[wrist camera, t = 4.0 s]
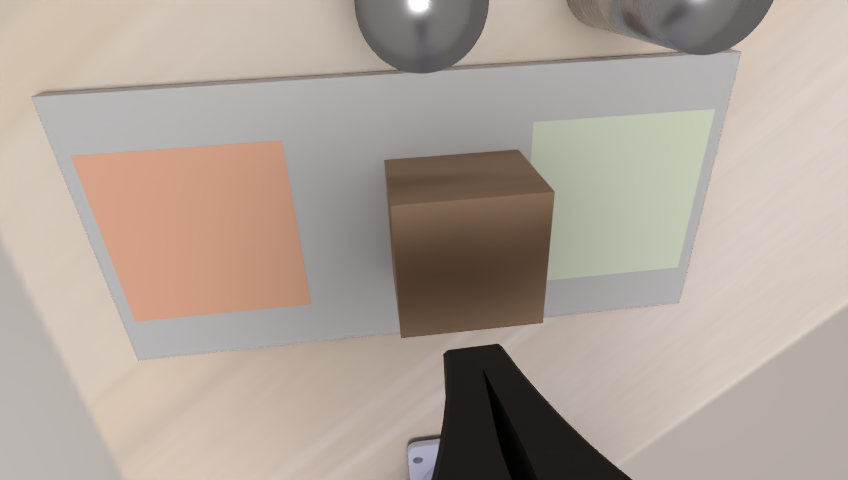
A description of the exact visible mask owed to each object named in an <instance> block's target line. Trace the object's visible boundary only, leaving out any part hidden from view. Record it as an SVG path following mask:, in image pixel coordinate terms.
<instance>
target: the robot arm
mask: <svg viewBox="0 0 848 480" xmlns="http://www.w3.org/2000/svg"><path fill="white" fill-rule="evenodd" d="M443 357H444V375H445V394H446V400H445V409H444V419H443V426H442V431H441V437H440V439H433V440H425V441H417V442H413V443H411V444H410V445H409V446H408V449H407V452H408V464H409V476H410V480H632V479H631V478H630V477H628V476H627V475H626V474H624V473H623V472H622V471H621V470H619V469H618V468H617V467H616V466H615V465H613V464H612V463H611V462H610V461H609V460H608V459H606V458H605V457H604V456H603V455H602V454H600V453H599V452H598V451H597V450H596V449H595V448H594V447H593V446H591V445H590V444H589V443H588V442H587V441H586V440H585V439H584V438H583V437H582V436H581V435H580V434H579V433H578V432H577V431H576V430H575V429H574V428H572V427H571V426H570V425H569V424H568V423H567V422H566V421H565V420H564V419H563V418H562V417H561V416H560V415H559V413H558V412H557V411H556V410H555V409H554V408H553V407H552V406H551V405H550V404H549V403H548V402H547V401H546V400H545V398H544V397H543V396H542V395H541V394H540V393H539V392H538V391H537V390H536V388H535V387H534V386H533V385H532V384H531V383H530V381H529V380H528V379H527V378H526V377H525V376H524V374H523V373H522V372H521V371H520V369H519V368H518V367H517V366H516V364H515V363H514V362H513V361H512V359H511V358H510V357H509V355H508V354H507V353H506V351H505V350H504V348H503V347H502V346H500V345H499V344H492V345H484V346H477V347H469V348H461V349H453V350H448V351H446V352H445V353H444V354H443Z"/></svg>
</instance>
